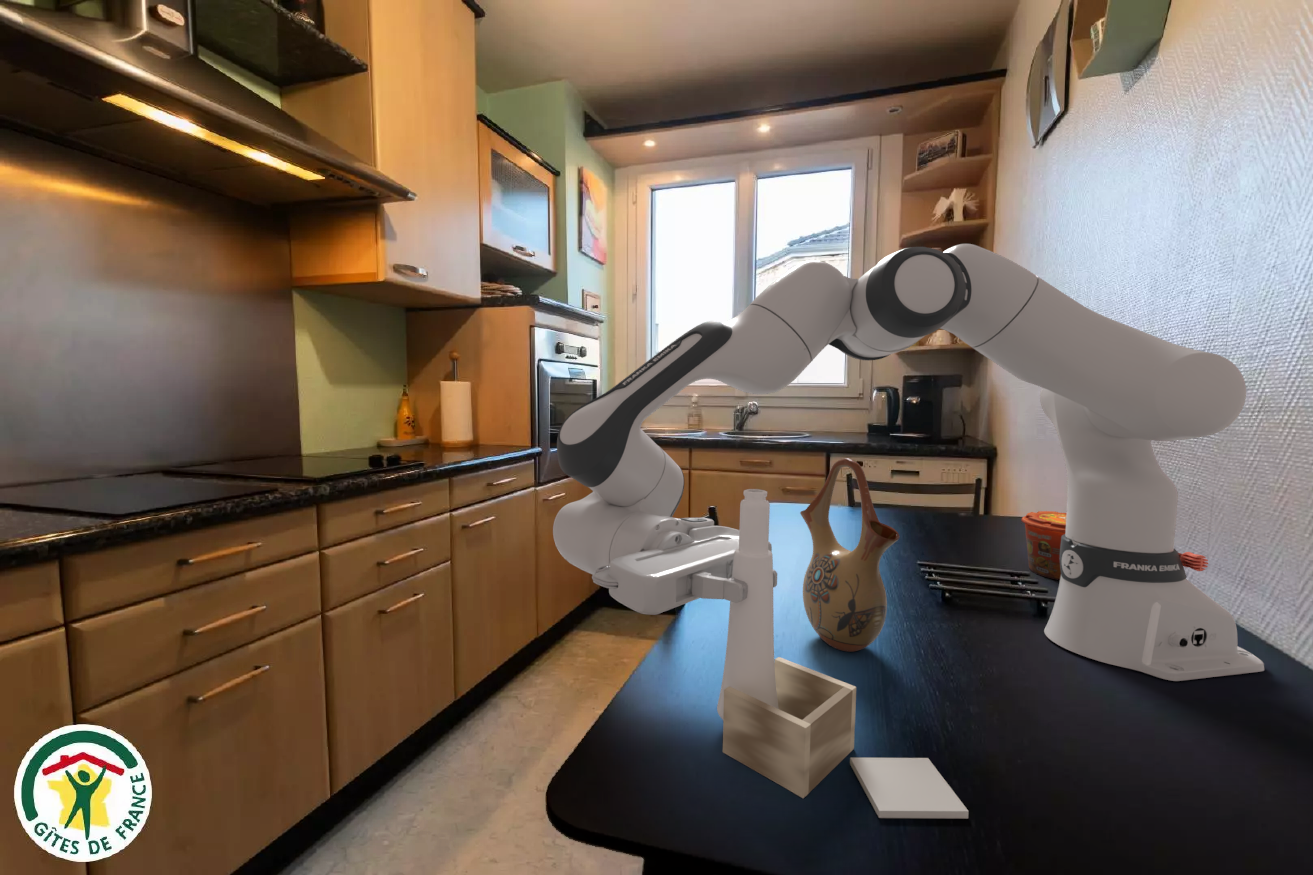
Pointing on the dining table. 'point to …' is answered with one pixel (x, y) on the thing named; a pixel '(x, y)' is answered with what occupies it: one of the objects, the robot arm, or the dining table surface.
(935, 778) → the stone coaster
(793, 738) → the beech cradle
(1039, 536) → the food container
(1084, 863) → the dining table surface
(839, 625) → the ceramic vessel
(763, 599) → the cosmetic bottle
